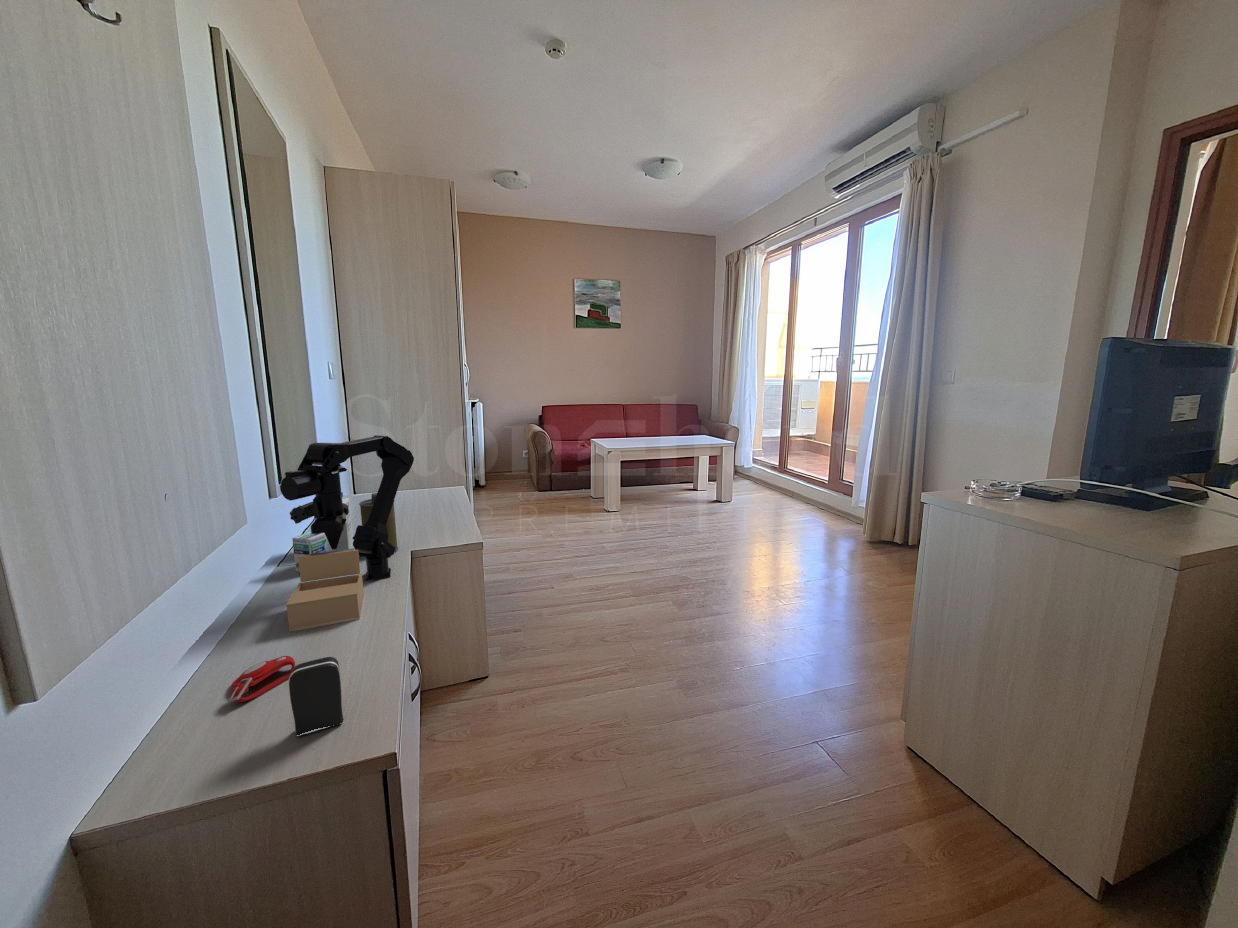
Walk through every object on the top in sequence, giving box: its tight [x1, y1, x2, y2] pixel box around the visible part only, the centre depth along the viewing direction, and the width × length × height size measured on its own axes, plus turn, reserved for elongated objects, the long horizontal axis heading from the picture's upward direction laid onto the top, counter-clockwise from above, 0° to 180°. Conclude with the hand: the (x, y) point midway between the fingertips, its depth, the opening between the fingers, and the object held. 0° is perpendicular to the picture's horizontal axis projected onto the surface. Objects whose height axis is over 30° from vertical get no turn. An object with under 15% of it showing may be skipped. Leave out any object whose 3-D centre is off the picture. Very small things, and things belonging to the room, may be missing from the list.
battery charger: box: [288, 656, 345, 736], centre depth 76 cm, size 7×4×11 cm, turn 120°
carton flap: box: [298, 548, 361, 583], centre depth 123 cm, size 6×13×7 cm
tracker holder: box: [227, 655, 296, 703], centre depth 87 cm, size 12×4×10 cm
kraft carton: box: [285, 573, 365, 633], centre depth 114 cm, size 14×14×7 cm
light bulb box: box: [291, 530, 339, 573], centre depth 142 cm, size 11×7×11 cm, turn 169°
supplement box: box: [313, 497, 354, 550], centre depth 156 cm, size 10×9×17 cm
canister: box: [358, 492, 399, 553], centre depth 155 cm, size 11×10×20 cm
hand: (334, 548), depth 122 cm, fingers closed
